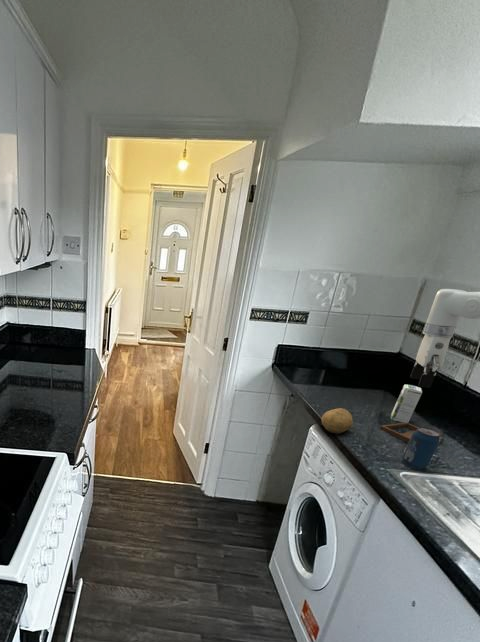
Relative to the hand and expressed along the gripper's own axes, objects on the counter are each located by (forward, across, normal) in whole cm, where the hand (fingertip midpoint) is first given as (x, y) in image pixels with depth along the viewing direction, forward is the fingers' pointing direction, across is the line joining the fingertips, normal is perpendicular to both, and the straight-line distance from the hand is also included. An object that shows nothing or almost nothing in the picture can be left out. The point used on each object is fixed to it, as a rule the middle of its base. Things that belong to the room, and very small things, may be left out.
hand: (419, 382), depth 135 cm
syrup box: (+23, +26, -6) cm, 36 cm away
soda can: (+23, -14, -2) cm, 27 cm away
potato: (+23, +1, +20) cm, 30 cm away
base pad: (+23, +11, -6) cm, 26 cm away
